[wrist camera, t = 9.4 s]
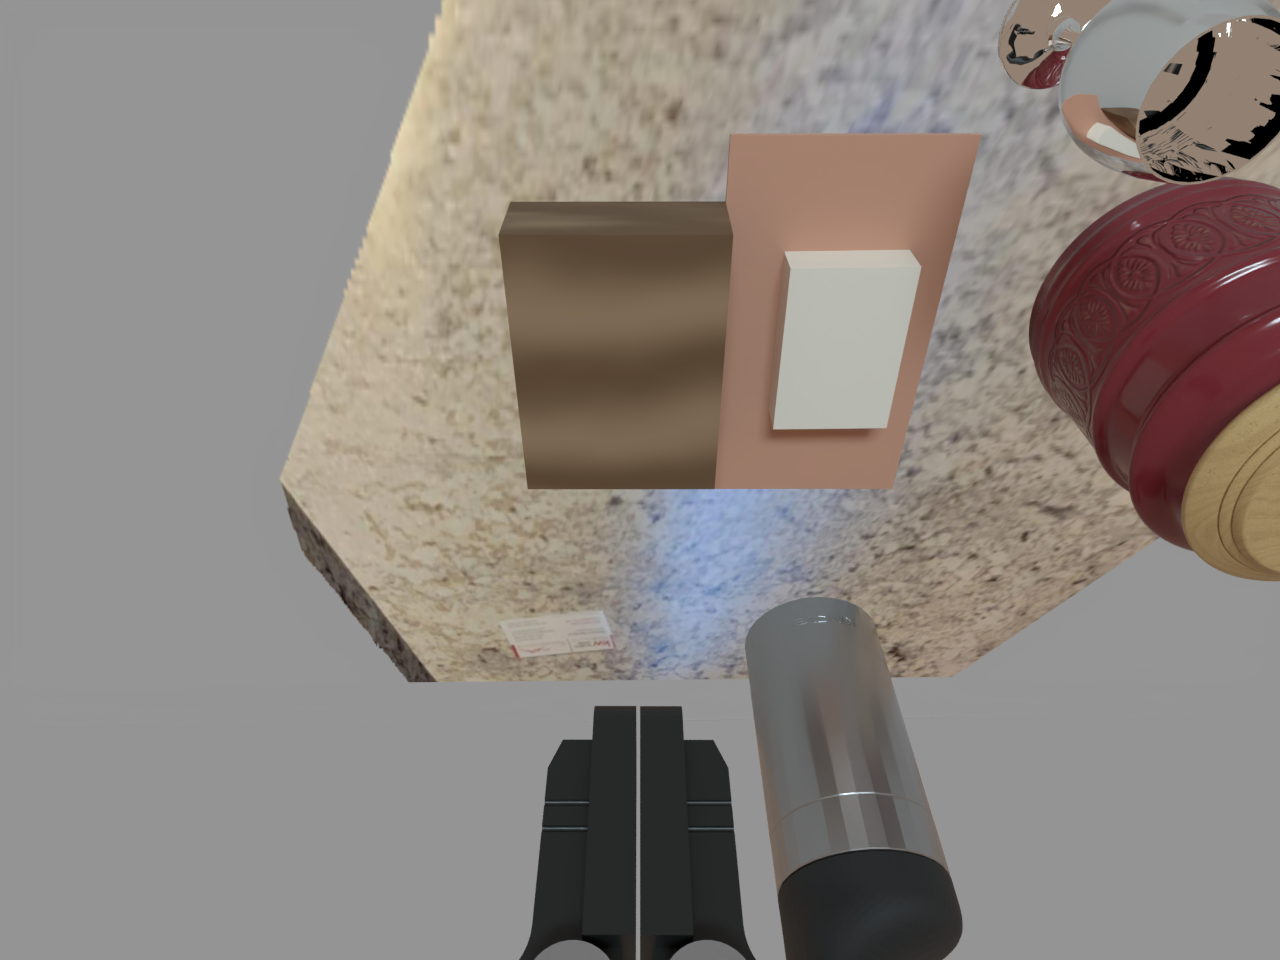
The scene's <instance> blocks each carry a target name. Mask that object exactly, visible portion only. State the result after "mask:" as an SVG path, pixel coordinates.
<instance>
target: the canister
mask: <svg viewBox="0 0 1280 960" xmlns="http://www.w3.org/2000/svg"><path fill="white" fill-rule="evenodd" d="M1029 345H1030V351H1031V355H1032V358H1033V361H1034V365H1035V369H1036V372H1037V375H1038V377H1039V380H1040V382H1041V384H1042V385H1043V387H1044V389H1045V390H1046V392H1047V393H1048V394H1049V396H1050V397H1051V399H1052V400H1053V401H1054V403H1055V404H1056V405H1057V406H1058V407H1059V408H1060V409H1061V410H1062V411H1063V412H1064V413H1066V414H1067V415H1068V416H1070V417H1071V419H1072V420H1073V421H1074V423H1075V424H1076V425H1077V427H1078V428H1079V429H1080V431H1081V432H1082V433H1083V435H1084V436H1085V437H1086V439H1087V440H1088V441H1089V443H1090V444H1091V445H1092V447H1093V448H1094V449H1095V452H1096V455H1097V457H1098V460H1099V462H1100V463H1101V465H1102V467H1103V469H1104V470H1105V471H1106V473H1107V474H1108V475H1109V476H1110V477H1111V478H1112V479H1113V480H1114V481H1115V482H1116V483H1117V484H1118V485H1119V486H1121V487H1122V488H1124V489H1125V490H1127V491H1128V492H1129V493H1130V497H1131V501H1132V503H1133V506H1134V508H1135V510H1136V512H1137V514H1138V516H1139V517H1140V519H1141V520H1142V521H1143V523H1144V524H1145V525H1146V526H1147V527H1148V528H1149V529H1150V530H1151V531H1152V532H1153V533H1155V534H1156V535H1157V536H1159V537H1160V538H1162V539H1163V540H1165V541H1167V542H1169V543H1171V544H1173V545H1175V546H1177V547H1180V548H1183V549H1186V550H1189V551H1193V552H1195V553H1196V554H1197V555H1198V556H1199V557H1200V558H1201V559H1202V560H1203V561H1204V562H1206V563H1207V564H1209V565H1210V566H1212V567H1213V568H1215V569H1217V570H1219V571H1221V572H1224V573H1226V574H1229V575H1232V576H1236V577H1240V578H1244V579H1250V580H1258V581H1280V189H1279V188H1277V187H1274V186H1271V185H1268V184H1265V183H1261V182H1256V181H1251V180H1242V179H1238V178H1233V177H1221V178H1219V179H1217V180H1213V181H1209V182H1205V183H1201V184H1191V185H1177V184H1168V183H1166V184H1163V185H1160V186H1157V187H1154V188H1152V189H1149V190H1147V191H1144V192H1142V193H1140V194H1138V195H1136V196H1134V197H1132V198H1130V199H1128V200H1126V201H1124V202H1123V203H1121V204H1119V205H1118V206H1116V207H1114V208H1113V209H1111V210H1110V211H1108V212H1107V213H1105V214H1104V215H1102V216H1101V217H1100V218H1098V219H1097V220H1096V221H1095V222H1093V223H1092V224H1091V225H1090V226H1089V227H1087V228H1086V229H1085V230H1084V231H1083V232H1082V233H1081V234H1080V235H1079V236H1078V237H1077V238H1076V239H1075V240H1074V241H1073V242H1072V243H1071V244H1070V245H1069V246H1068V247H1067V248H1066V249H1065V251H1064V252H1063V253H1062V254H1061V255H1060V257H1059V258H1058V259H1057V261H1056V262H1055V263H1054V265H1053V266H1052V268H1051V269H1050V271H1049V272H1048V274H1047V276H1046V278H1045V279H1044V281H1043V283H1042V285H1041V287H1040V289H1039V291H1038V294H1037V296H1036V299H1035V302H1034V305H1033V308H1032V312H1031V317H1030V323H1029Z"/></svg>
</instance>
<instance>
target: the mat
mask: <svg viewBox="0 0 1280 960" xmlns="http://www.w3.org/2000/svg"><path fill="white" fill-rule="evenodd" d="M981 136H982V135H981V134H980V133H732V134H730V141H729V156H728V171H727V187H726V206H727V210H728V214H729V218H730V222H731V226H732V231H733V246H732V260H731V273H730V287H729V301H728V314H727V328H726V341H725V355H724V368H723V382H722V395H721V409H720V422H719V436H718V450H717V463H716V477H715V489H892V488H893V484H894V480H895V476H896V472H897V468H898V464H899V460H900V456H901V452H902V448H903V444H904V440H905V436H906V432H907V428H908V424H909V420H910V416H911V412H912V408H913V405H914V401H915V397H916V393H917V389H918V385H919V381H920V377H921V373H922V369H923V365H924V361H925V357H926V353H927V349H928V345H929V341H930V337H931V333H932V329H933V325H934V321H935V318H936V314H937V310H938V306H939V302H940V298H941V294H942V290H943V286H944V282H945V278H946V274H947V270H948V266H949V262H950V258H951V254H952V250H953V246H954V242H955V238H956V234H957V230H958V227H959V223H960V219H961V215H962V211H963V207H964V203H965V199H966V195H967V191H968V187H969V183H970V179H971V175H972V171H973V167H974V163H975V159H976V155H977V151H978V147H979V143H980V140H981ZM851 250H910V251H911V252H912V254H913V255H914V257H915V258H916V260H917V261H918V263H919V264H920V266H921V271H920V276H919V281H918V285H917V290H916V294H915V299H914V304H913V308H912V313H911V317H910V322H909V327H908V331H907V336H906V340H905V345H904V350H903V354H902V359H901V364H900V368H899V373H898V377H897V382H896V387H895V391H894V396H893V400H892V405H891V410H890V414H889V419H888V423H887V428H853V429H773V427H772V422H771V418H770V414H769V409H768V407H769V397H770V388H771V378H772V368H773V358H774V349H775V339H776V329H777V319H778V310H779V300H780V290H781V280H782V271H783V261H784V251H851Z"/></svg>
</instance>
